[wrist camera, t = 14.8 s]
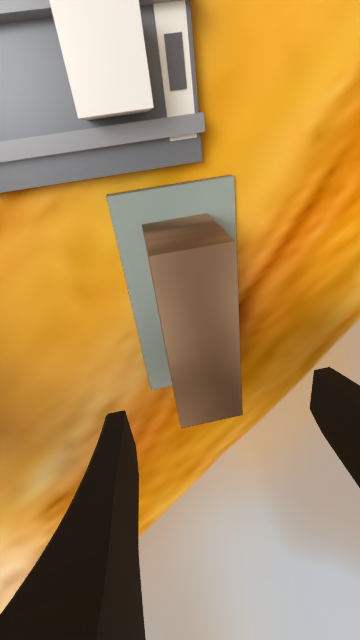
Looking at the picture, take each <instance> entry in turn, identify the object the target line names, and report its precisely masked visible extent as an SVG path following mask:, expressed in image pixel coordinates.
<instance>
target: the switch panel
mask: <svg viewBox="0 0 360 640" xmlns="http://www.w3.org/2000/svg"><path fill="white" fill-rule="evenodd" d="M139 6H140V13H141V20H142V27H143V35H144V42H145V49H146V56H147V63H148V70H149V78H150V85H151V92H152V99H153V106H154V108H152V109H151V110H149V111H147V112H144V113H137V114H130V115H123V116H116V117H109V118H102V119H95V120H88V121H87V120H83V119H79V118H78V116H77V112H76V108H75V103H74V99H73V95H72V91H71V87H70V83H69V79H68V75H67V71H66V67H65V63H64V59H63V54H62V50H61V46H60V42H59V38H58V34H57V30H56V26H55V22H54V18H53V14H52V10H51V5H50V1H49V0H0V193H2V192H9V191H15V190H22V189H28V188H34V187H41V186H47V185H54V184H60V183H66V182H73V181H79V180H86V179H92V178H98V177H105V176H111V175H118V174H124V173H130V172H137V171H143V170H150V169H156V168H163V167H169V166H175V165H182V164H188V163H195V162H201V161H203V159H202V146H201V134H200V132H205V120H204V112H201V113H199V109H198V96H197V83H196V71H195V58H194V46H193V33H192V20H191V8H190V0H139Z"/></svg>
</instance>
